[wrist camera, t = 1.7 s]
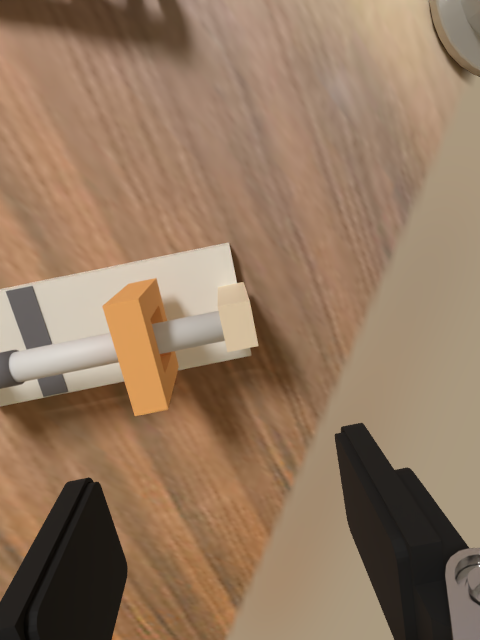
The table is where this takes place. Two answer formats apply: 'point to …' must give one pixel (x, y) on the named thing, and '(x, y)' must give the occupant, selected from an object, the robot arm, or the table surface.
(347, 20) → the table surface
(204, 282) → the rod stand
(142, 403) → the collar
